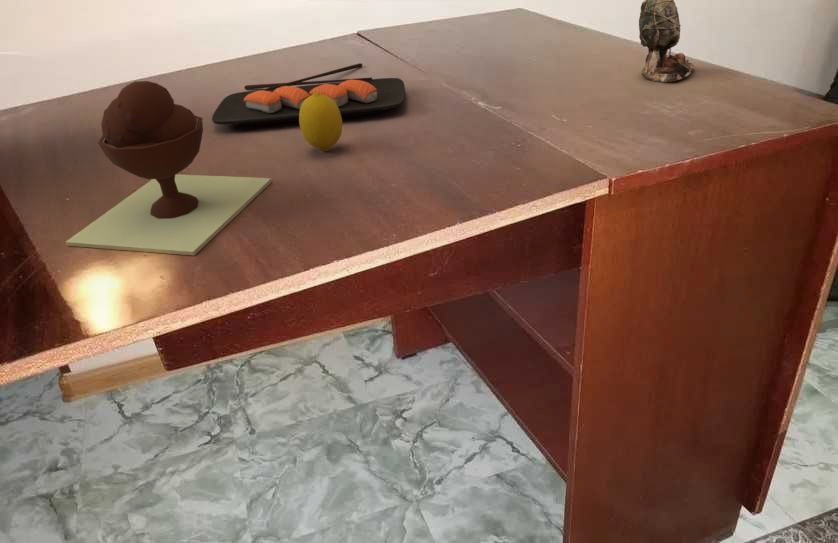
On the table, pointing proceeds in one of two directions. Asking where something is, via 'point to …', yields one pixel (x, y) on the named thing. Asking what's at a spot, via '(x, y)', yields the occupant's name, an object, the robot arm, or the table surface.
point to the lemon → (320, 121)
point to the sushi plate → (286, 99)
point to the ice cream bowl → (153, 141)
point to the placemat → (178, 235)
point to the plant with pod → (662, 41)
